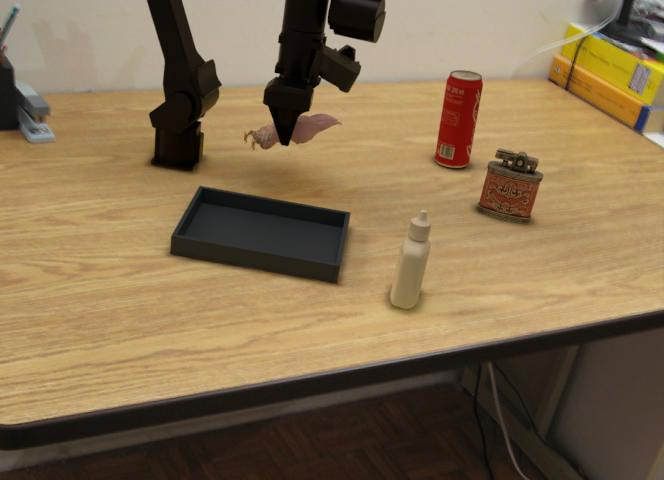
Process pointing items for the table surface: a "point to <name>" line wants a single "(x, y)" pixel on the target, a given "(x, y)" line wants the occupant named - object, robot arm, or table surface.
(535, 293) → the table surface
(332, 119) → the rabbit figure
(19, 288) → the table surface
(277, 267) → the desk tray
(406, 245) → the eye dropper bottle
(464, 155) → the beverage can
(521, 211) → the lighter
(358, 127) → the table surface
